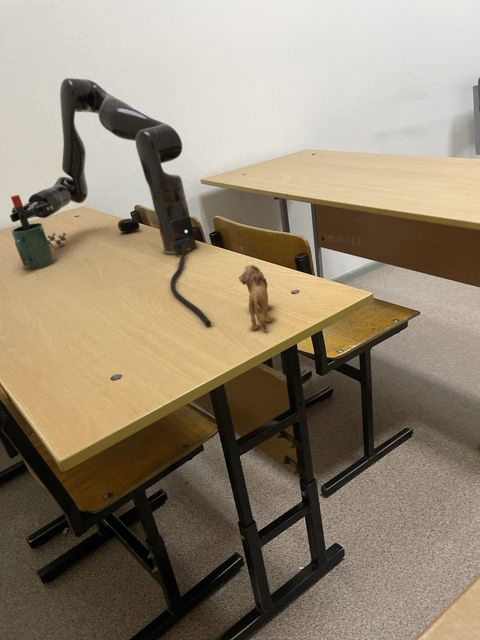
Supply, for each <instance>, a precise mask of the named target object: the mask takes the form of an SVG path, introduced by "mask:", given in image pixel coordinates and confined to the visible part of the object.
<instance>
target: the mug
mask: <svg viewBox="0 0 480 640" xmlns="http://www.w3.org/2000/svg"><path fill="white" fill-rule="evenodd" d="M29 225H30V228H31V229H30V230H26V231H24V230H23V228H22V225H21V226H17V227H15V228H13V229H11V231H10V232H11V235H12V237H13V240H14V245H15V247H16V250H17V252H18V255H19V257H20V260H21V264H22V266H24V268H25V270H38V269H42V268H46V267H48V266H50V265H52V264H54V263H55V257H54V255H53V252H52V249H51V246H50V245H49V243H48V240H49V239H48V237H47V235H46V232H45V229H44V226H43V223H40V222H35V223H29Z"/></svg>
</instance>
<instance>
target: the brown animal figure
mask: <svg viewBox="0 0 480 640" xmlns="http://www.w3.org/2000/svg"><path fill="white" fill-rule="evenodd" d="M238 280H239V282H240V283H241V284H242V286H244V285H246V287H247V290H248V293H249V296H248V309H249V314H250V315H249V316H250V322H251V329H252V330H257V329H258V327H259V326H258V325H257V322H256V321H258V323H259V324H260V326H261V328H262V329H263V330H264V331H267V330H268V327H267V326H266V324H264V322H263V321H262V319H261V316H260V312H259V308H260V310H261V311H262V312H263V318H264V319H265V321H266V322H267V323H268V322H269V323H270V322H272V321H273V318H272V317H271V316H269V312H268V310H269V309H270V308H271V306H270V305H269V294H268V282H267V279H266V277H265V276H264V273H263V272H262V271H261V269H260V268H259V267H258V266H256V265H254V264H249V265H246V266H245V267H244V271H243V272H242V274H241V275H240V276H238ZM256 319H257V320H256Z"/></svg>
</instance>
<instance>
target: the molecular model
mask: <svg viewBox="0 0 480 640" xmlns="http://www.w3.org/2000/svg"><path fill="white" fill-rule="evenodd" d="M56 235H57V234H56V232H52V235H50V234H48V235H46V237H47V240H48V243H49V246H50V247H52V246H53V245H54V244H53V243H52V242H54V241H55V244H56V245H55V249H59V247H60V246H61V247H62V246H64V243H63V242H65V243H66V244H69V242H70V240H69V239H66V236H67V233H66V232H62V235H61V234H58V236H57V238H58V239H57V240H56V238H55V236H56ZM59 239H60V240H59Z"/></svg>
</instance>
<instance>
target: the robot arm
mask: <svg viewBox="0 0 480 640" xmlns="http://www.w3.org/2000/svg"><path fill="white" fill-rule="evenodd" d="M59 88H60V89H59V103H60V115H61V116H60V117H61V127H62V128H61V129H62V141H63V143H62V144H63V146H62V159H61V160H62V162H61V170H62V172H64V174H66V175H67V176H59V177H58V178H57V179H56V181H55V182H54V184H53V185H52V186H50V187H48V188H45V189H42V190H39V191H38V192H35V193H34V194H32V195H30V197H29V198H28V200H27V201H28V202H25V204H24V205H23V204H22V205H23V208H24V211H23V212H21V213H19V214H17V211H16V209H15V207H14V206H13V207H12V209H11V213H10V215H9V218H10V220H11V222H12V223H16V222H18V221H19V222H20V221H24V220H26V219H28V220H29V219H33V218H40V219H46V218H48V217H50V216H52V215H54V214H55V213H57V212H59V211H60V210H61V209H62V208H64V207H66V206H68V205H69V204H70V203H71V202H73V203H76V204H83V203H84V202H85V201H86V200H87V198H88V194H89V188H88V183H87V177H86V172H85V166H86V157H87V151H86V146H85V144H84V141H83V139H82V137H81V135H80V133H79V131H78V129H77V126H76V121H75V120H76V119H75V117H76V113H91V114H93V113H94V114H97V115H98V116H97V117H98V121H99V123H100V124H101V126H102V127H103V128H104V129H105V130H106V131H108V132H109V133H111V134H112V135H113V136H115V137H117V138H120V139H122V140H127V141H132V142H135V148H136V151H137V156H138V158H139V162H140V166H141V168H142V173H143V176H144V179H145V181H146V182H145V183H147V186H148V189H149V193H150V197H151V201H152V205H153V209H154V213H155V217H156V222H157V226H158V229H159V235H160V238H161V242H162V246H163V252H164V253H165V254H168V255H180V258H179V262H178V268H177V270H176V271H175V272H174V274H173V275H172V276H171V279H170V290H171V292H172V294H173V295H174V297H176V299H178V301H180V302H181V303H182V304H184V306H186V307H187V308H189V309H191V310H192V311H193V312H195V313H196V314H197V315H198V317H200V318H201V320H202V321H203V322H204V324H205V325H206V326H207V327H208V326H209V327H210V326H211V324H212V322H211V320H209V318H208V317H207V316H206V315H205V313H204V312H203V311H202V310H201V309H200V308H199V307H197V306H196V305H195V304H193V303H192V302H190V301H189V300H187V298H185V297H183V296H182V295H181V294H180V293H179V292H178V291H177V288H176V280H177V278H178V276H179V275H180V274H181V272H182V271H183V268H184V261H185V259H186V255H187V252H189V251H192V250H195V249H197V248H198V246H197V243H196V237H195V233H194V229H193V228H194V226H193V224H192V223H193V222H192V219H191V215H190V211H189V205H188V202H187V198H186V197H187V196H186V193H185V187H184V183H183V179H182V177H181V175H179V174H175V173H168V172H166V171H165V170H164V169H163V166H162V164H165V163H169V162H172V161H174V160H176V159H178V158H179V157H180V156H181V154H182V152H183V142H182V138H181V137H180V135H179V133H178V132H177V131H176V129H175V128H173V127H172V126H171V125H169V124H167V123H165V122H162V121H160V120H157V119H155V118H152V117H150V116H148V115H146V113H143V112H141V111H139V110H137V109H136V108H134V107H133V106H131V105H130V104H128V103H127V102H125V101H123V100H121V99H119V98H117V97H115V96H114V95H112V94H110V93H109V92H107V91H106V90H105V89H103V88H102V87H101V85H99V84H98V83H97V82H95V81H93V80H91V79H87V78H86V79H83V78H73V77H67V78H64V79H63V80H62V81H61V83H60V87H59ZM18 216H19V217H18Z"/></svg>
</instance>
